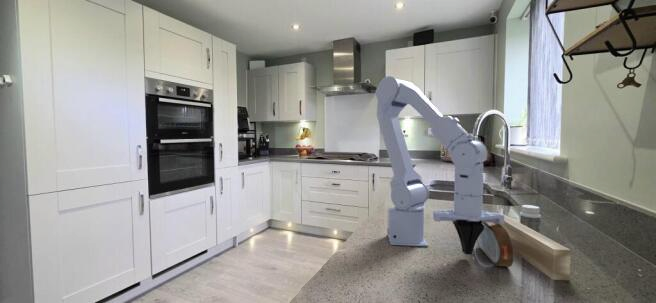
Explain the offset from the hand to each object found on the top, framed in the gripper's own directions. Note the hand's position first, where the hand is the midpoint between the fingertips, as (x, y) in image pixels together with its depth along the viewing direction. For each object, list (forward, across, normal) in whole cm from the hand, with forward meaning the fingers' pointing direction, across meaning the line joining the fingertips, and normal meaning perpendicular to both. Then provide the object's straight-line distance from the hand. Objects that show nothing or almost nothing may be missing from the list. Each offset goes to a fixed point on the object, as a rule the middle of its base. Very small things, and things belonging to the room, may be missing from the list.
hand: (466, 252), depth 60 cm
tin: (+2, +6, +2) cm, 6 cm away
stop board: (+1, +14, +4) cm, 15 cm away
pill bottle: (+2, +23, +16) cm, 28 cm away
